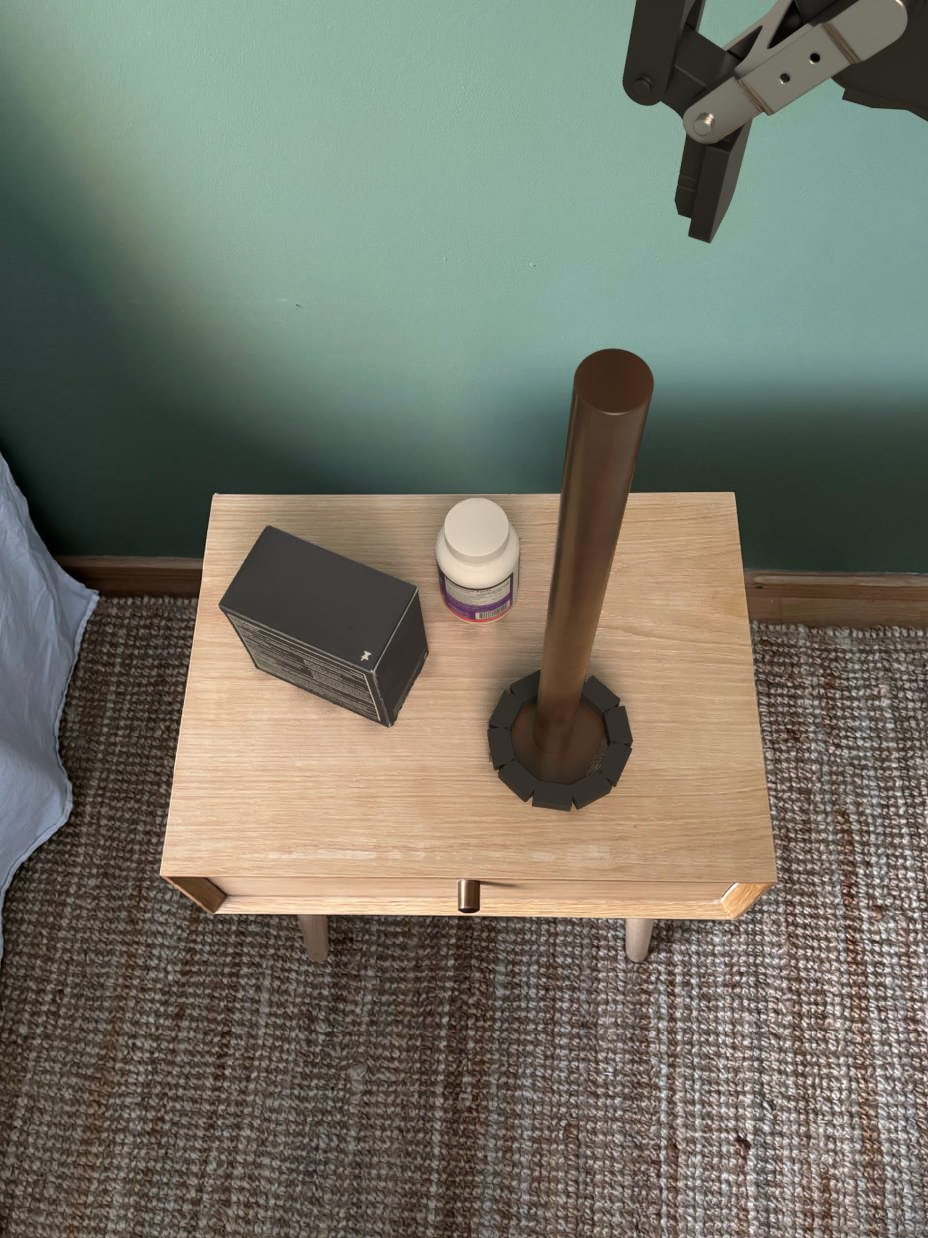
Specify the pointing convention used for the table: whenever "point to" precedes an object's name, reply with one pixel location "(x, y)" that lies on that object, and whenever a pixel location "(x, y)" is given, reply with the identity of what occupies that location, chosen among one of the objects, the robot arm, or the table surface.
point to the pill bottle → (478, 561)
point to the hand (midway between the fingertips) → (844, 264)
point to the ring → (552, 792)
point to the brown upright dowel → (584, 560)
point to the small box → (328, 624)
